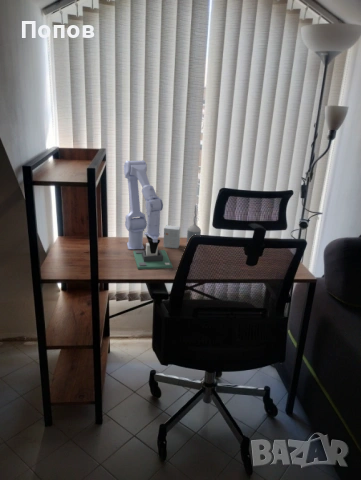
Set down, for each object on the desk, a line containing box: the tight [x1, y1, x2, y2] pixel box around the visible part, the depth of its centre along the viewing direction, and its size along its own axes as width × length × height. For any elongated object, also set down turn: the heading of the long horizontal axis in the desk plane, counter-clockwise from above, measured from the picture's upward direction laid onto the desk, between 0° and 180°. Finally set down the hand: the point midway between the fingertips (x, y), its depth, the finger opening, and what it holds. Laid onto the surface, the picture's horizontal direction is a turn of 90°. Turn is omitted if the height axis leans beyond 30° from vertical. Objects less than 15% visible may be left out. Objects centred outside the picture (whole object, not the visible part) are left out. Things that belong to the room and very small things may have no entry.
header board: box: [132, 249, 174, 270], centre depth 188 cm, size 20×16×4 cm
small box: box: [162, 225, 181, 249], centre depth 206 cm, size 8×6×10 cm
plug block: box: [145, 242, 159, 256], centre depth 187 cm, size 4×5×6 cm
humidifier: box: [185, 204, 202, 247], centre depth 197 cm, size 8×8×25 cm
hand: (152, 251), depth 187 cm, fingers closed on plug block, 4 cm apart
